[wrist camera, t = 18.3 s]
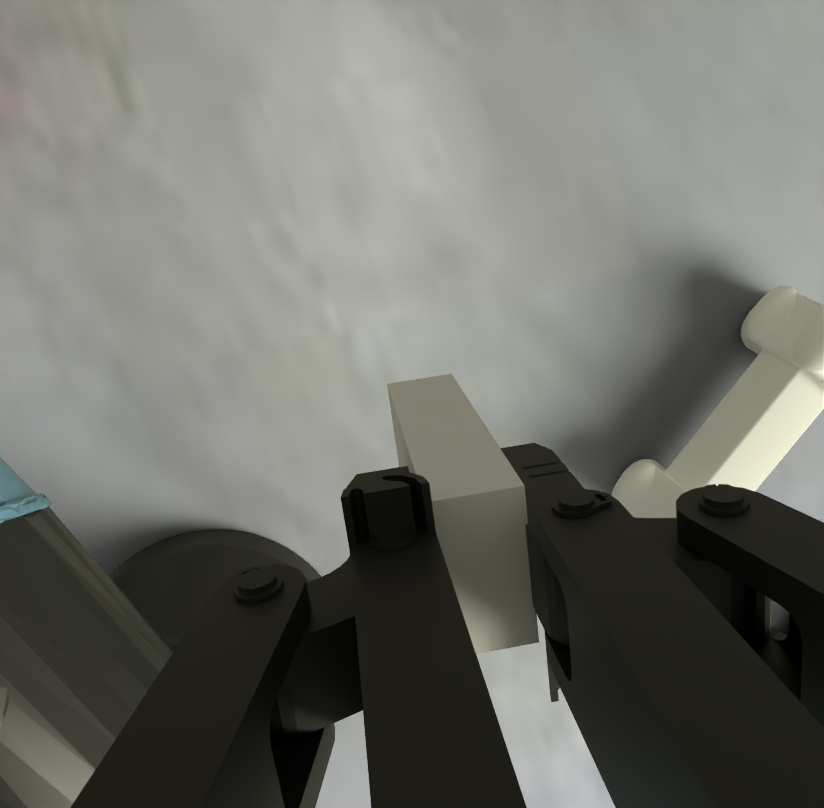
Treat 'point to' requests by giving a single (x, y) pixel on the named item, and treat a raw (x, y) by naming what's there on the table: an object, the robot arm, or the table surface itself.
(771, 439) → the bone shaped toy
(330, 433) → the table surface
